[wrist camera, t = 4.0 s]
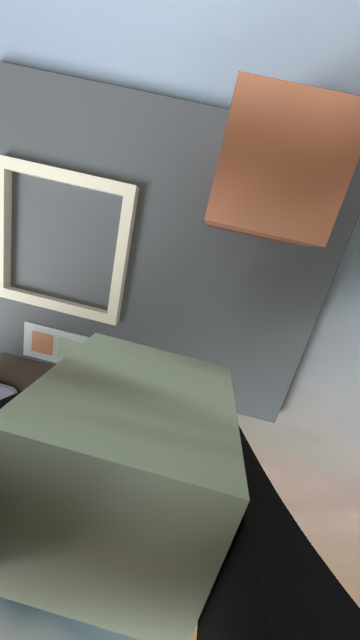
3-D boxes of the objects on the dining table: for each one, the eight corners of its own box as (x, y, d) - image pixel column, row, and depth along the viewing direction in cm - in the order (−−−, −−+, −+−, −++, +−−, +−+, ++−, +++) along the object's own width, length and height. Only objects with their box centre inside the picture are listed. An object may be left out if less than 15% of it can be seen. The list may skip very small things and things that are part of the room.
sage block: (195, 472, 10) (183, 652, 6) (80, 440, 10) (-18, 591, 6) (229, 367, 8) (249, 500, 4) (95, 332, 9) (-19, 424, 4)
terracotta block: (289, 245, 14) (325, 247, 9) (206, 225, 14) (204, 219, 10) (322, 148, 12) (381, 99, 8) (229, 128, 13) (238, 71, 8)
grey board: (271, 415, 18) (276, 429, 16) (-6, 343, 19) (-23, 351, 17) (377, 148, 13) (397, 137, 11) (-7, 67, 14) (-31, 49, 12)
